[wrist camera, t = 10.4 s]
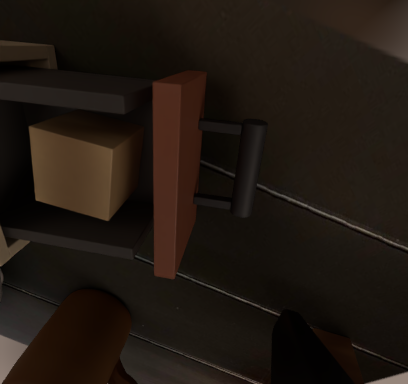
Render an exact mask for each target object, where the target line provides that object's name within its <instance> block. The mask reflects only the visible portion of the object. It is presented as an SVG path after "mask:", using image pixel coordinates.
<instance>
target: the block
mask: <svg viewBox="0 0 408 384" xmlns="http://www.w3.org/2000/svg"><path fill="white" fill-rule="evenodd" d="M29 134H30V145H31V155H32V166H33V177H34V188H35V199H36V201H40V202H43V203H47V204H50V205H54V206H57V207H61V208H64V209H68V210H71V211H75V212H78V213H82V214H85V215H89V216H92V217H96V218H99V219H103V220H106V221H109V220H110V218H111V217H112V216H113V215H114V214H115V213H116V212H117V210H118V209H119V208H120V207H121V206H122V205H123V203H124V202H125V201H126V200H127V199H128V198H129V196H130V195H131V194H132V193H133V192H134V191H135V189H136V188H137V187H138V179H139V170H140V161H141V152H142V143H143V135H144V127H143V126H140V125H136V124H132V123H128V122H125V121H121V120H117V119H113V118H110V117H106V116H102V115H98V114H95V113H91V112H87V111H84V110H80V109H77V110H74V111H72V112H69V113H66V114H63V115H60V116H57V117H54V118H51V119H49V120H46V121H43V122H40V123H37V124H34V125H31V126H29Z"/></svg>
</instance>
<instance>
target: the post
mask: <svg viewBox="0 0 408 384" xmlns="http://www.w3.org/2000/svg"><path fill="white" fill-rule="evenodd" d="M312 330H313V331H314V333H315V334H316V335H317V336H318V338H319V339H320V340H321V341H322V343H323V344H324V345H325V346H326V348H327V349H328V350H329V351H330V353H331V354H332V355H333V356H334V358H335V359H336V360H337V362H338V363H339V364H340V365H341V367H342V368H343V369H344V370H345V372H346V373H347V374H348V375H349V377H350V378H351V379H352V380H353V382H354V383H355V384H364V382H363V378H362V375H361V372H360V369H359V366H358V363H357V359H356V356H355V353H354V350H353V347H352V344H351V340H350V338H347V337H344V336H340V335H337V334H333V333H330V332H327V331H323V330H320V329H316V328H313V329H312Z"/></svg>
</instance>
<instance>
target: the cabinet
mask: <svg viewBox="0 0 408 384" xmlns="http://www.w3.org/2000/svg"><path fill="white" fill-rule="evenodd" d="M7 65H17V66H27V67H36V68H46V69H55V70H58V68H57V61H56V55H55V49H54V46H53V45H46V44H35V43H24V42H14V41H3V40H0V66H7ZM29 242H30V241H27V240H21V239H16V238H10V237H5V236H4V234H3V231H2V228H1V225H0V266H2V265H3V264H5V263H6V262H7V261H8V260H9V259H10V258H11V257H13V256H14V255H15V254H16V253H17V252H18V251H20V250H21V249H22V248H23V247H24V246H25V245H27V244H28V243H29Z"/></svg>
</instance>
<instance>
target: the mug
mask: <svg viewBox="0 0 408 384" xmlns="http://www.w3.org/2000/svg"><path fill="white" fill-rule="evenodd" d="M131 323H132V322H131V316H130V314H129V311H128V310H127V308H126V307H125V306H124V305H123V304H122V303H121V302H120V301H119V300H118V299H117V298H115V297H114V296H112V295H110V294H108V293H106V292H103V291H100V290H96V289H80V290H77V291H75V292H73V293H71V294H70V295H69V296H68V297H67V298H66V299H65V300H64V301H63V302H62V304H61V305H60V306H59V307H58V309H57V310H56V311H55V313H54V314H53V315H52V316H51V318H50V319H49V320H48V322H47V323H46V324H45V325H44V327H43V328H42V329H41V330H40V332H39V333H38V334H37V336H36V337H35V338H34V340H33V341H32V342H31V343H30V345H29V346H28V347H27V349H26V350H25V352H24V353H23V354H22V355H21V357H20V358H19V359H18V360H17V362H16V363H15V365H14V366H13V368H12V369H11V371H10V372H9V374H8V375H7V377H6V379H5V380H4V381H3V383H2V384H107V383H108V384H138V383H137V382H136V381H135V380H134V379H133V378H132V377H131V376H130V375H128V374H127V373H126V371H125V369H124V367H123V365H122V363H121V361H120V357H119V356H120V354H121V351H122V349H123V347H124V344H125V342H126V340H127V338H128V335H129V333H130V329H131Z"/></svg>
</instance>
